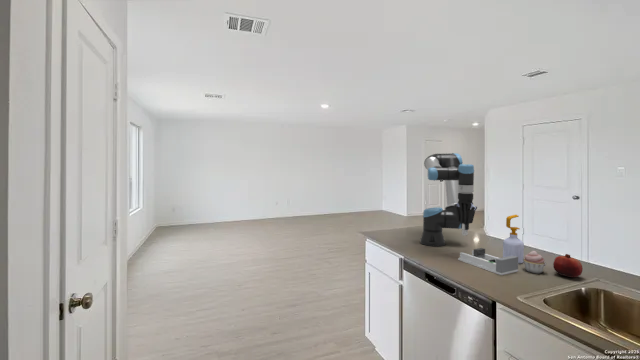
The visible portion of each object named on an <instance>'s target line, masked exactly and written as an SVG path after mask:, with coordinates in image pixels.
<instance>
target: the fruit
mask: <svg viewBox="0 0 640 360" xmlns="http://www.w3.org/2000/svg"><path fill="white" fill-rule="evenodd" d="M552 266H553V270H554V272H556V273H557V274H559V275H561V276H565V277H569V278H577V277H579V276H581V275H582V273H583V270H584V269H583V264H582V262H581V261H580V260H579V259H577V258H575V257H572V256H571V254H568V253H565V255H559V256H556V257H555V258H554V261H553V264H552Z"/></svg>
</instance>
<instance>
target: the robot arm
mask: <svg viewBox="0 0 640 360" xmlns="http://www.w3.org/2000/svg"><path fill="white" fill-rule="evenodd" d="M423 166H424V168H425V169H426V170H427V179H428V180H429V181H434V182H435V181H445V182H444V183H445V193H446V206H445V208H443V207H438V206H437V207H428V208H425V209H424V210H423V213H422V215H423V216H422V218H423V221H422V222H423V223H422V234H421V237H420V239H419V240H420V242H419V243H420V244H422V245H424V246H427V247H444V246H446V241H445V238H444V233H443V229H454V230H455V229H456V230H459V229H460V230H461V236H463V237H465V236H468V235H469V233H468V230H469V229H470V227H469V226H470V224H472V223H473V221H474V218H475V214H476V211H477V209H478V206H475V205H474V203H473V200H474V191H475V190H474V186H475V185H474V179H475V167H474V164H470V163H468V164H465V163H463V158H462V155H461V154H459V153H453V152H452V153H433V154H431V155H428V156H427V157H426V158H425V159H424V162H423Z"/></svg>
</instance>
